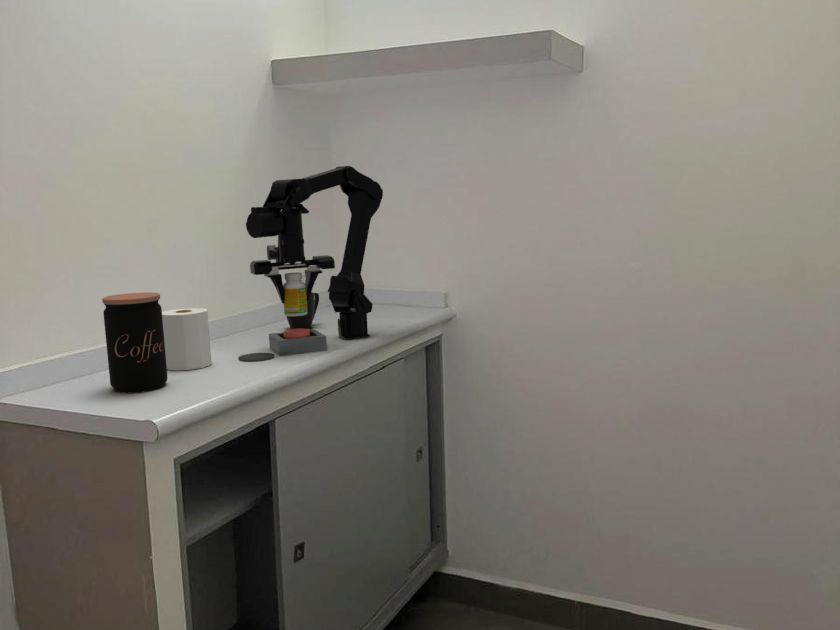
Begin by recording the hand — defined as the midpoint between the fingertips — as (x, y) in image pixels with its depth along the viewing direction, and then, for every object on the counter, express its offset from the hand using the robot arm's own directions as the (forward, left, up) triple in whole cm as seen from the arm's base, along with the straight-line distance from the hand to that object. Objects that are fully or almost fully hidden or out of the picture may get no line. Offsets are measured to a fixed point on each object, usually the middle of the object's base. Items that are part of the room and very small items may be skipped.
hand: (295, 301), depth 194 cm
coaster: (+11, +5, -11) cm, 16 cm away
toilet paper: (+26, +5, -12) cm, 28 cm away
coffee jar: (+37, +21, -12) cm, 44 cm away
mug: (-9, -30, -12) cm, 34 cm away
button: (0, 0, -9) cm, 9 cm away
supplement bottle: (0, 0, -3) cm, 3 cm away
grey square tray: (0, 0, -11) cm, 11 cm away
